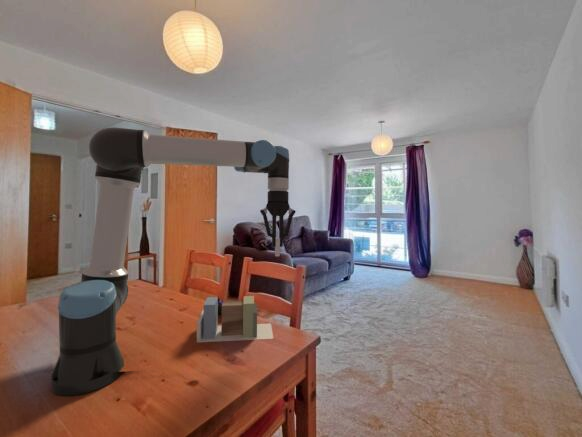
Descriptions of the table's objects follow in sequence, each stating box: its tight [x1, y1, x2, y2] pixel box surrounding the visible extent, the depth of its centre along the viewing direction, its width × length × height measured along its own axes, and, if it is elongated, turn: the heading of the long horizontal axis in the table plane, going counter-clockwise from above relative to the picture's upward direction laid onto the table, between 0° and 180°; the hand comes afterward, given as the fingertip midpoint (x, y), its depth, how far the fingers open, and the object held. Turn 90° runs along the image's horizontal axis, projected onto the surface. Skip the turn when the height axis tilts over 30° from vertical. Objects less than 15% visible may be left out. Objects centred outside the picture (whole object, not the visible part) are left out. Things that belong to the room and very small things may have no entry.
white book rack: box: [196, 309, 275, 343], centre depth 96 cm, size 12×24×8 cm, turn 98°
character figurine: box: [217, 296, 224, 317], centre depth 113 cm, size 8×7×15 cm
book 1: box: [203, 296, 219, 339], centre depth 95 cm, size 8×4×11 cm, turn 8°
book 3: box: [242, 295, 255, 337], centre depth 97 cm, size 8×4×11 cm, turn 8°
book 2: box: [221, 300, 244, 336], centre depth 96 cm, size 4×7×10 cm, turn 98°
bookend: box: [254, 302, 258, 337], centre depth 97 cm, size 9×1×8 cm, turn 8°
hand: (277, 255), depth 103 cm, fingers closed
